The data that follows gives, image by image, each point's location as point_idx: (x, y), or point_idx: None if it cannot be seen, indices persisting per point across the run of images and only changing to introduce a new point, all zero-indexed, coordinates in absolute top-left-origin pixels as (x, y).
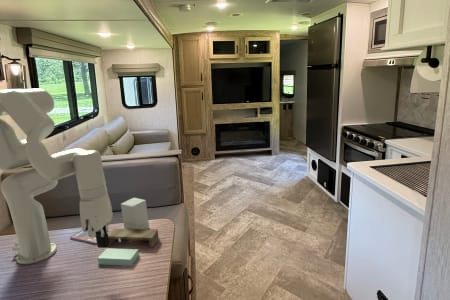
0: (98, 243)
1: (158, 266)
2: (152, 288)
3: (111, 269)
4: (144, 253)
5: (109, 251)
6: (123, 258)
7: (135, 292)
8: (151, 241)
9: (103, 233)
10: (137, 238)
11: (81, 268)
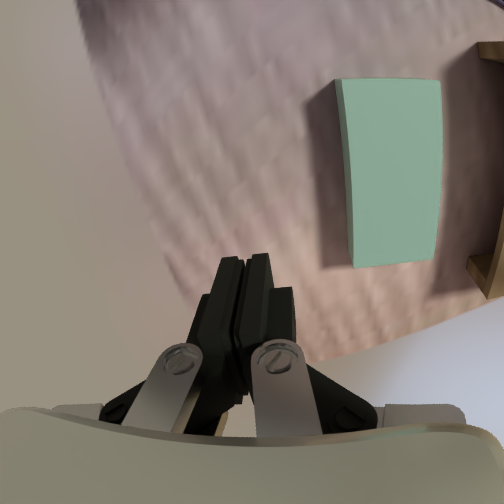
0: (200, 311)
1: (349, 336)
2: None
3: (308, 175)
4: None
5: (414, 114)
6: (358, 232)
7: None
8: (479, 284)
9: (217, 423)
10: (501, 231)
11: (278, 13)
